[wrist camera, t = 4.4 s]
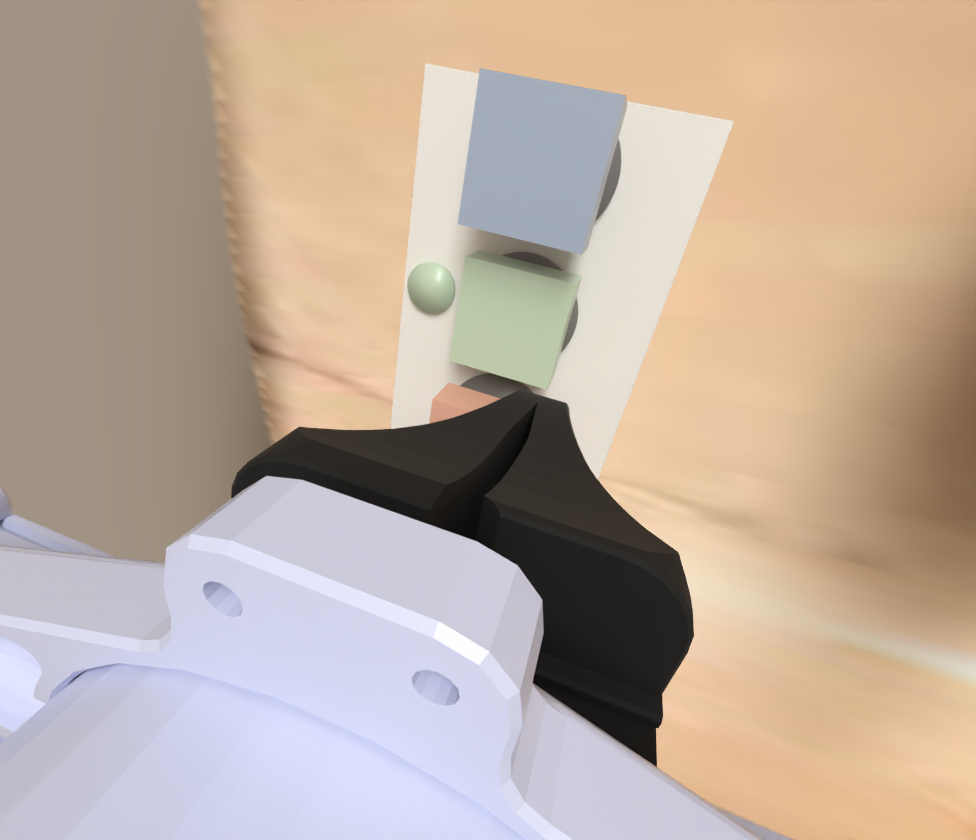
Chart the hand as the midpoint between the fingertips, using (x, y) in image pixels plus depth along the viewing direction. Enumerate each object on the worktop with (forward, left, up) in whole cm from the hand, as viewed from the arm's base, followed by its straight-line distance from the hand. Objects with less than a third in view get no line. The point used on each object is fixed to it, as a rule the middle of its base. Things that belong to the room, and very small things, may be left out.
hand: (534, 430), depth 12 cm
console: (+1, +2, -8) cm, 8 cm away
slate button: (+6, +2, -4) cm, 7 cm away
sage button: (+1, +2, -5) cm, 6 cm away
